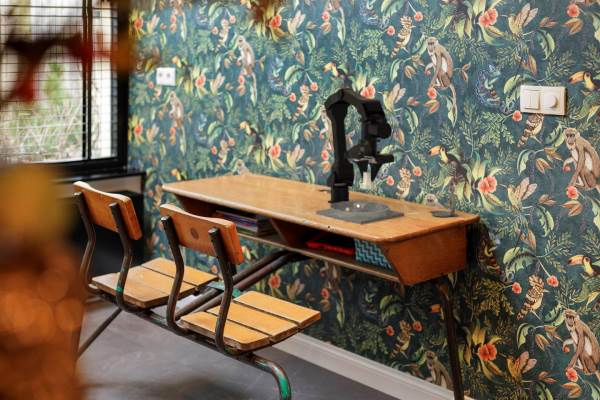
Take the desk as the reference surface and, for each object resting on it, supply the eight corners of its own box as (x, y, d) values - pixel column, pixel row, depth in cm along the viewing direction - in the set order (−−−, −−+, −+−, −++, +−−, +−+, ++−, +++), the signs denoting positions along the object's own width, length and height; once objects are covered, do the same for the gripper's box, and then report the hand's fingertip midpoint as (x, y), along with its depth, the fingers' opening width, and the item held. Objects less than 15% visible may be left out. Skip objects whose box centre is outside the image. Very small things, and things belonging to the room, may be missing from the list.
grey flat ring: (318, 211, 278) (318, 205, 278) (358, 203, 292) (359, 198, 292) (361, 221, 263) (361, 215, 263) (401, 212, 277) (402, 207, 277)
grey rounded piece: (428, 215, 279) (429, 187, 277) (445, 212, 284) (446, 184, 282) (444, 219, 272) (446, 190, 270) (462, 216, 277) (463, 188, 275)
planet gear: (356, 187, 278) (357, 172, 277) (367, 186, 282) (367, 170, 281) (368, 189, 275) (369, 174, 274) (379, 188, 278) (379, 172, 277)
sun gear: (350, 211, 278) (350, 203, 277) (359, 210, 281) (359, 201, 280) (360, 214, 274) (360, 205, 274) (369, 212, 278) (369, 203, 277)
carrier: (316, 214, 279) (316, 205, 278) (358, 206, 293) (358, 197, 292) (361, 224, 263) (361, 215, 262) (403, 215, 277) (404, 206, 277)
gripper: (333, 135, 276) (332, 180, 279) (374, 140, 263) (373, 186, 266) (355, 133, 284) (354, 176, 287) (396, 137, 271) (394, 183, 273)
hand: (368, 180), depth 278 cm, fingers closed on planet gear, 3 cm apart
